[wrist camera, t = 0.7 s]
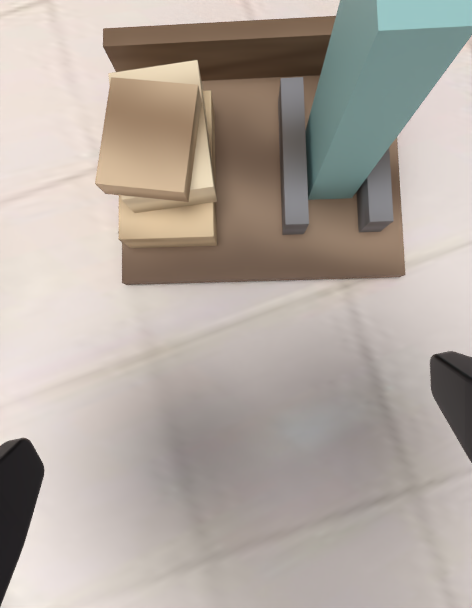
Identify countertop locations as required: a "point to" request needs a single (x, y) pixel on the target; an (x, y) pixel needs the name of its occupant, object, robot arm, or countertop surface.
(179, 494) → the countertop surface
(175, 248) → the rack
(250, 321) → the countertop surface
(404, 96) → the block
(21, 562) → the countertop surface
